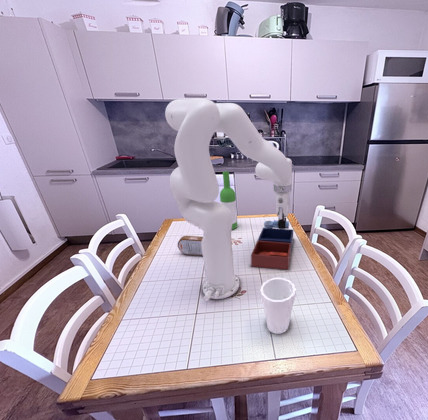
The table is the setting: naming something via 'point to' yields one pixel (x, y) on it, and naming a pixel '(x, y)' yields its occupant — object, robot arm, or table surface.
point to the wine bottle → (229, 198)
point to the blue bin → (276, 235)
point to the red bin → (271, 261)
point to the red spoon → (274, 254)
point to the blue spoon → (274, 224)
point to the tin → (190, 245)
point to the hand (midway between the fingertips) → (282, 226)
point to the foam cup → (278, 303)
